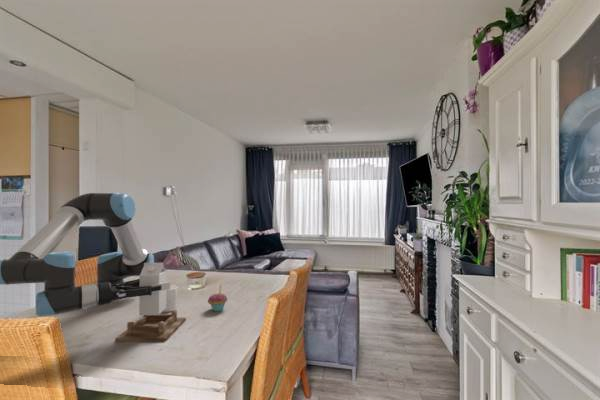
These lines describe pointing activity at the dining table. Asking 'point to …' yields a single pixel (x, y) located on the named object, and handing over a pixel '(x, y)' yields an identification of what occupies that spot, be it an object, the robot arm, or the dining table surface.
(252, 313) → the dining table surface
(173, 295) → the white cup
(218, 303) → the cupcake
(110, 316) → the dining table surface
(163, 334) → the walnut stand
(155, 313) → the milk carton
